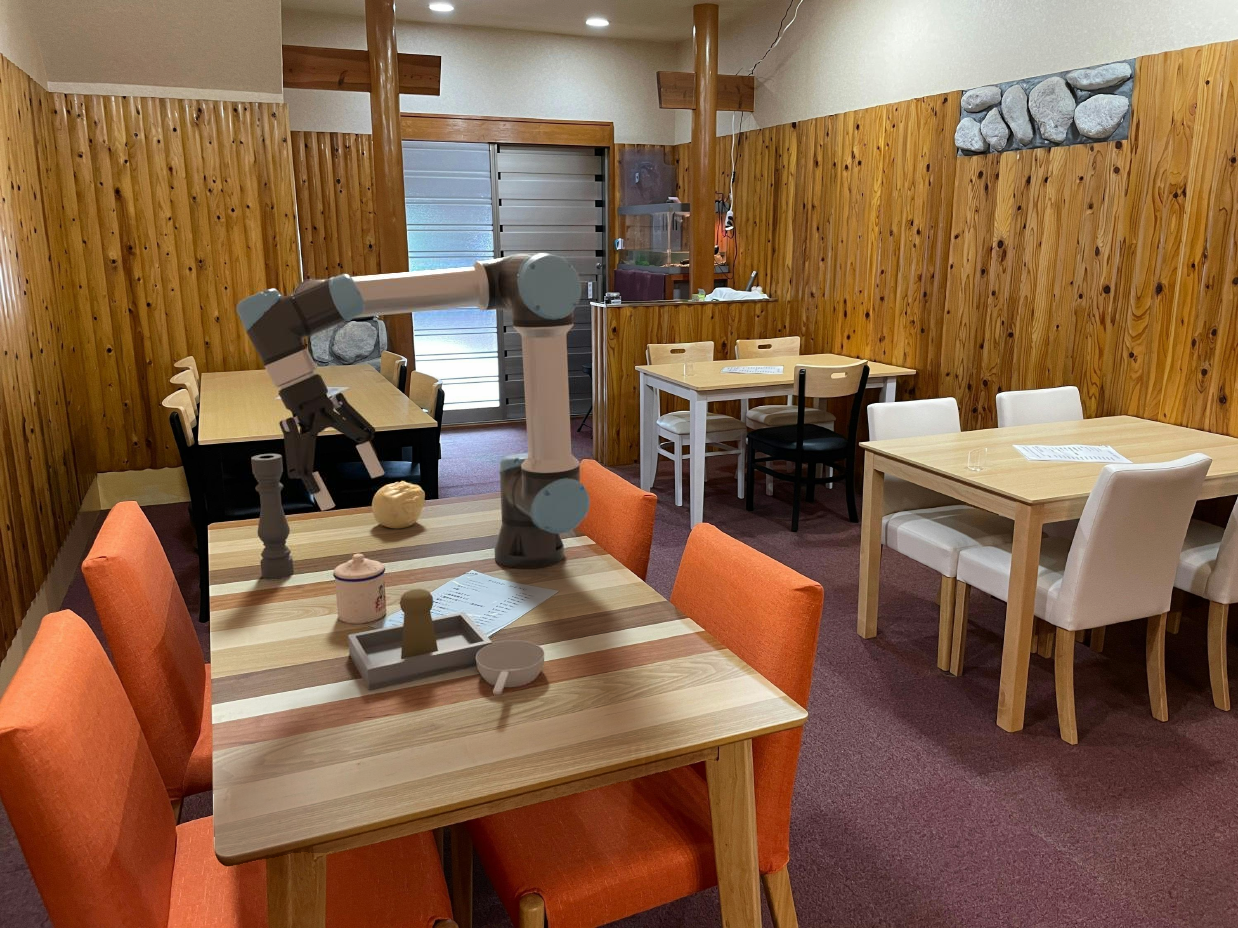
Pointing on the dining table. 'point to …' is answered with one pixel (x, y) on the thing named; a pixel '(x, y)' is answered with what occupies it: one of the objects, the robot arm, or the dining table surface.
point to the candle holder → (272, 517)
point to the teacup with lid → (360, 590)
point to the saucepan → (510, 663)
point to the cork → (417, 624)
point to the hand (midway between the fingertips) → (354, 491)
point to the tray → (385, 667)
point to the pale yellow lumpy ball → (398, 504)
